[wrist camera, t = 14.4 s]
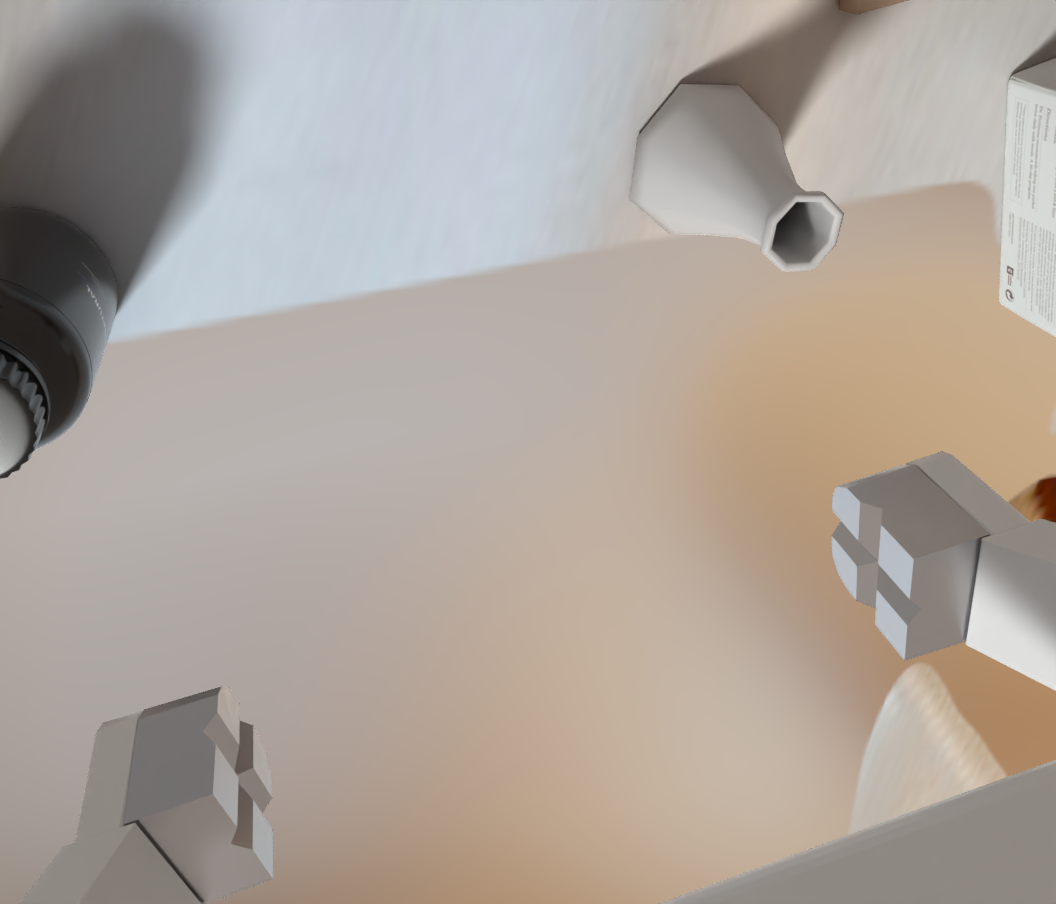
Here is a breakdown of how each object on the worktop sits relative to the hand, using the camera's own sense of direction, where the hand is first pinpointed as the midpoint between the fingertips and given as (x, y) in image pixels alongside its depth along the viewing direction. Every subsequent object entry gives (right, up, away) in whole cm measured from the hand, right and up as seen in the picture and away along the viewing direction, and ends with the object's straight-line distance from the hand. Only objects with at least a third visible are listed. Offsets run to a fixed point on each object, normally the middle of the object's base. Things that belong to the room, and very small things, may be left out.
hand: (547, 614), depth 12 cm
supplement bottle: (-21, +9, +26) cm, 35 cm away
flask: (+8, +16, +31) cm, 35 cm away
